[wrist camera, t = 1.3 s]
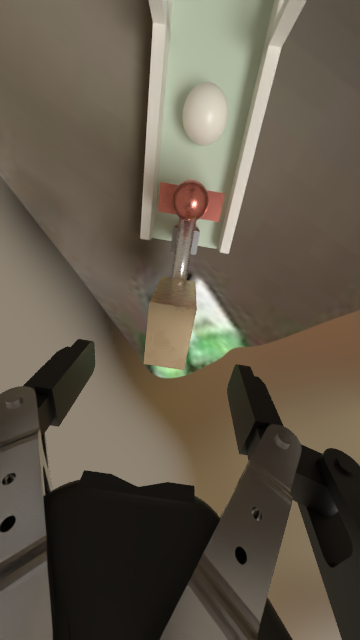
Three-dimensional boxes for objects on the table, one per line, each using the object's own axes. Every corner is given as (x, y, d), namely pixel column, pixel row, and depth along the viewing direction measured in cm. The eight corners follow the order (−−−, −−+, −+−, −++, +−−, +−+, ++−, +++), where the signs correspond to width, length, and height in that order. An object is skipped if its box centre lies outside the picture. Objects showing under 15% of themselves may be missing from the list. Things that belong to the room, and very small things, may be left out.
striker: (169, 188, 22) (141, 153, 9) (216, 196, 22) (247, 172, 10) (157, 296, 27) (130, 361, 15) (194, 302, 27) (197, 371, 15)
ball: (187, 93, 19) (185, 64, 15) (229, 100, 19) (237, 74, 15) (180, 147, 21) (178, 133, 17) (219, 154, 21) (224, 142, 17)
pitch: (168, -71, 16) (148, -308, 9) (295, -44, 16) (379, -255, 9) (146, 235, 26) (129, 243, 19) (224, 249, 26) (236, 261, 19)
